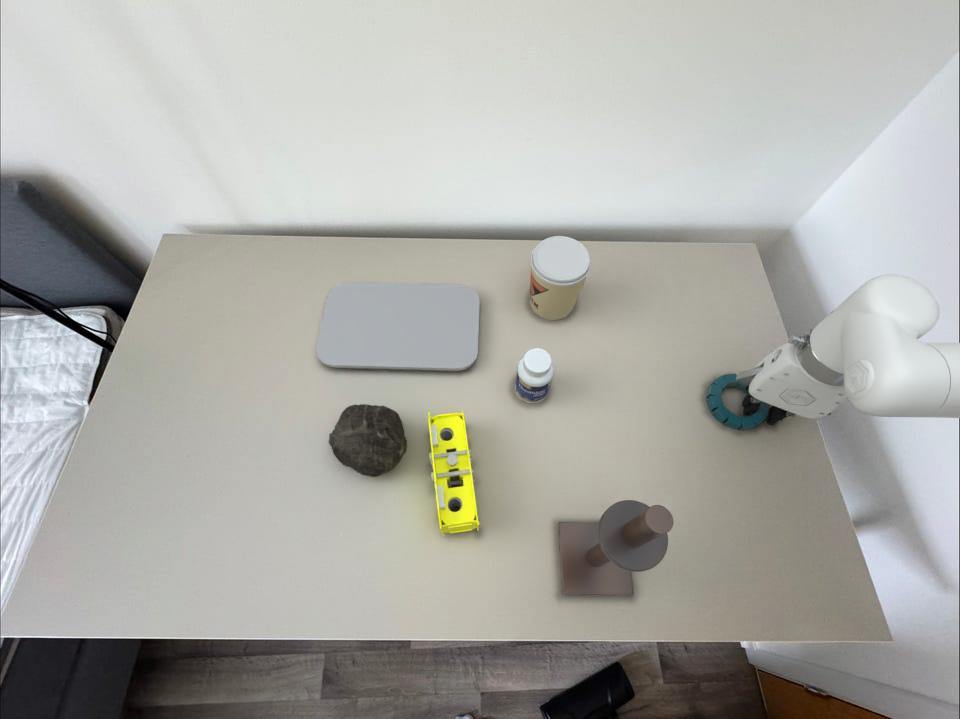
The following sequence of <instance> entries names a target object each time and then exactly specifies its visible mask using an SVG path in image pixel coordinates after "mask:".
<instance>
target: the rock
mask: <svg viewBox="0 0 960 719" xmlns="http://www.w3.org/2000/svg"><path fill="white" fill-rule="evenodd" d="M405 433H406V432H405V428H404V424H403V420H402V419H401V417H400V415H399V413H398V412H397V411H395V410H394V409H392V408H390V407H388V406H385V405H372V404H371V405H370V404H367V403H365V404H361V403H360V404H351V405H349V406H347V407H345V409H343V411H342V412H341V414H340V415H339V419H338V420H337V422H336V424H335V426H334V429H332V432H330V433H329V434H328V444H329V445H330V447H331V450H332V454H333V455H334V457H335V459H336V460H338V462H340V463H341V465H342V466H345V467H347V468H351V469H352V470H354V472H356V473H358V474H360V475H362V476H366V477H372V478H375V477H379V476H382V475H384V474H385V473H389V472H390V471H392V470H393V469H395V468H396V467H397V466H398V465H399V464H400V462H401V460H402V458H403V456H404V455H406V452H407V450H408V439H407V437H406V435H405Z"/></svg>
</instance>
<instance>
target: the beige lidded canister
mask: <svg viewBox="0 0 960 719" xmlns="http://www.w3.org/2000/svg"><path fill="white" fill-rule="evenodd" d="M591 268H592V258H591V255H590V253H589V250H588V248H586V246H585V245H584V244H583V243H581V242H580V241H579V240H577V239H576V238H573V237H570V236H565V235H554V236H550V237H547V238H545V239H543V240H542V241H540V242H539V243H538V244H537V245H535V247H534V248H533V250H532V252H531V255H530V281H529V282H530V283H529V305H530V307H531V309H532V311H533V313H534V314H536V315H537V316H538V317H539V318H542V319H544V320H548V321H558V320H562V319H564V318H566V317H568V316H569V315H570V314H571V313H572V311H573V309H574V307H575V305H576V303H577V301H578V298H579V296H580V293H581V292H582V289H583V286H584V284H585V282H586V278H587V276H588V275H589V273H590V271H591Z"/></svg>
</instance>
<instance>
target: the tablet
mask: <svg viewBox="0 0 960 719" xmlns="http://www.w3.org/2000/svg"><path fill="white" fill-rule="evenodd" d="M480 302H481V301H480V295H479V293H478V291H477V290H476V289H474V288H473V287H471V286H469V285H466V284H448V283H447V284H444V283H441V284H440V283H408V282H407V283H406V282H404V283H403V282H368V281H367V282H365V281H364V282H363V281H362V282H361V281H356V282H355V281H345V282H340V283H337V284H336V285H334V286H333V287H331V289H330V290H329V291H328V293H327V296H326V299H325V305H324V309H323V314H322V319H321V323H320V327H319V329H320V330H319V333H318V337H317V342H316V348H315V351H316V352H315V353H316V356H317V358H318V359H319V361H320V362H321V364H323V365H325V366H328V367H331V368H335V369H364V370H366V369H367V370H400V371H402V370H404V371H405V370H406V371H437V372H439V371H440V372H462V371H465V370H467V369H469V368H470V367H472V366H473V365H474V363H476V361H477V358H478V355H479V334H480V333H479V332H480V331H479V330H480V329H479V328H480Z"/></svg>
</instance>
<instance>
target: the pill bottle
mask: <svg viewBox="0 0 960 719" xmlns="http://www.w3.org/2000/svg"><path fill="white" fill-rule="evenodd" d="M552 361H553V360H552V356H551V354H550V353H549V351H547V350H545V349H544V348H541V347H535V348H531V349H529V350H528V351H526V353H525V354H524V356H523V357H521V359H520V360H519V362H518V365H517V370H516V376H515V381H514V391H515V393H516V394H515V395H516V396H517V397H518V398H519V399H520V400H521V401H523V402H525V403H528V404H538V403H541V402H542V401H544V400H545V398H546V397H547V396H548V393H549V391H550V388H551V385H552V381H553V378H554V374H555V366H554V363H553V362H552Z"/></svg>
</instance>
